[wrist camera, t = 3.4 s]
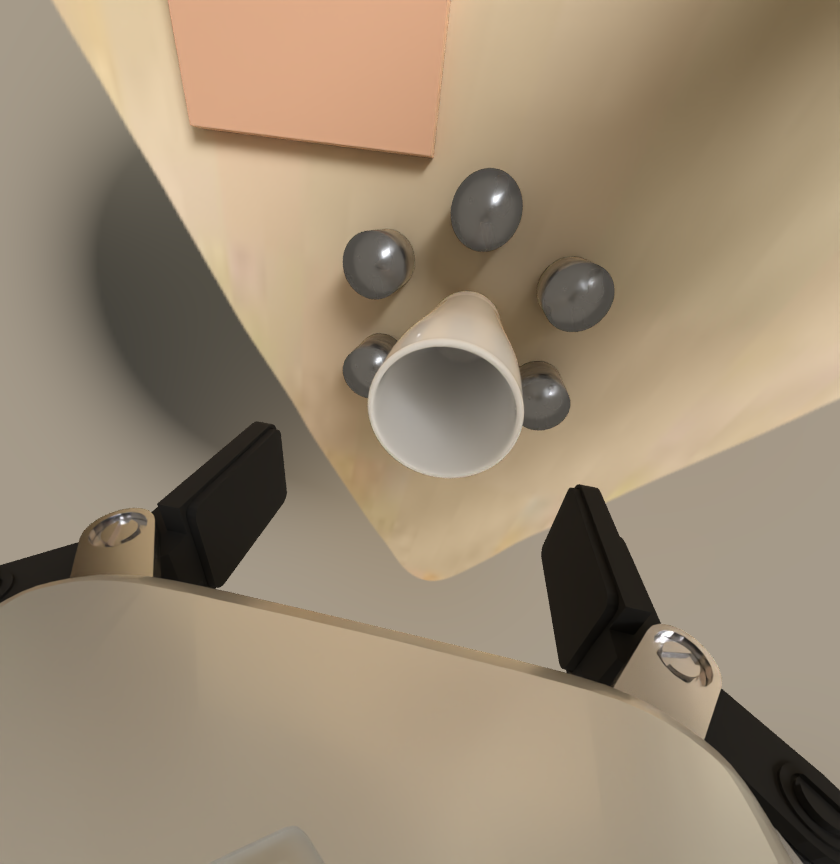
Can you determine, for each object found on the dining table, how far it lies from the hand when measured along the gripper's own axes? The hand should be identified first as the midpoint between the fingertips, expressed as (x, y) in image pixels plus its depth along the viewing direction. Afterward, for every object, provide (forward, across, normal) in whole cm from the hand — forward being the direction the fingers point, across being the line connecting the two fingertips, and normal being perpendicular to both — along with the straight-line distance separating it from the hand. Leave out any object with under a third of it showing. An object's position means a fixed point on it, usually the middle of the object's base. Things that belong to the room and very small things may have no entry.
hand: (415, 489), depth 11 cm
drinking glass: (+19, 0, -1) cm, 19 cm away
